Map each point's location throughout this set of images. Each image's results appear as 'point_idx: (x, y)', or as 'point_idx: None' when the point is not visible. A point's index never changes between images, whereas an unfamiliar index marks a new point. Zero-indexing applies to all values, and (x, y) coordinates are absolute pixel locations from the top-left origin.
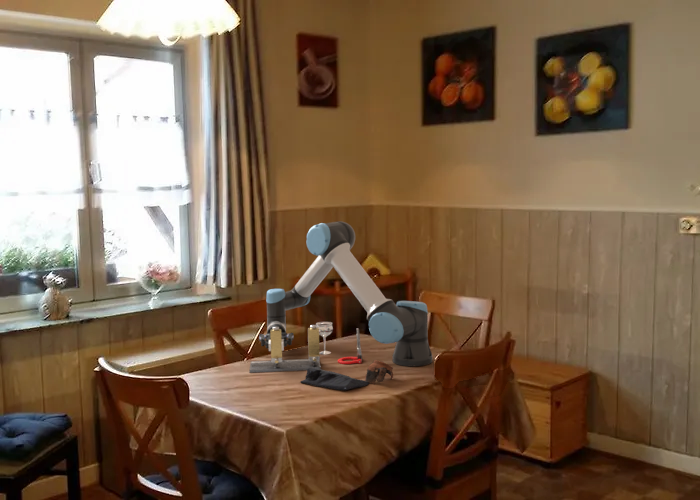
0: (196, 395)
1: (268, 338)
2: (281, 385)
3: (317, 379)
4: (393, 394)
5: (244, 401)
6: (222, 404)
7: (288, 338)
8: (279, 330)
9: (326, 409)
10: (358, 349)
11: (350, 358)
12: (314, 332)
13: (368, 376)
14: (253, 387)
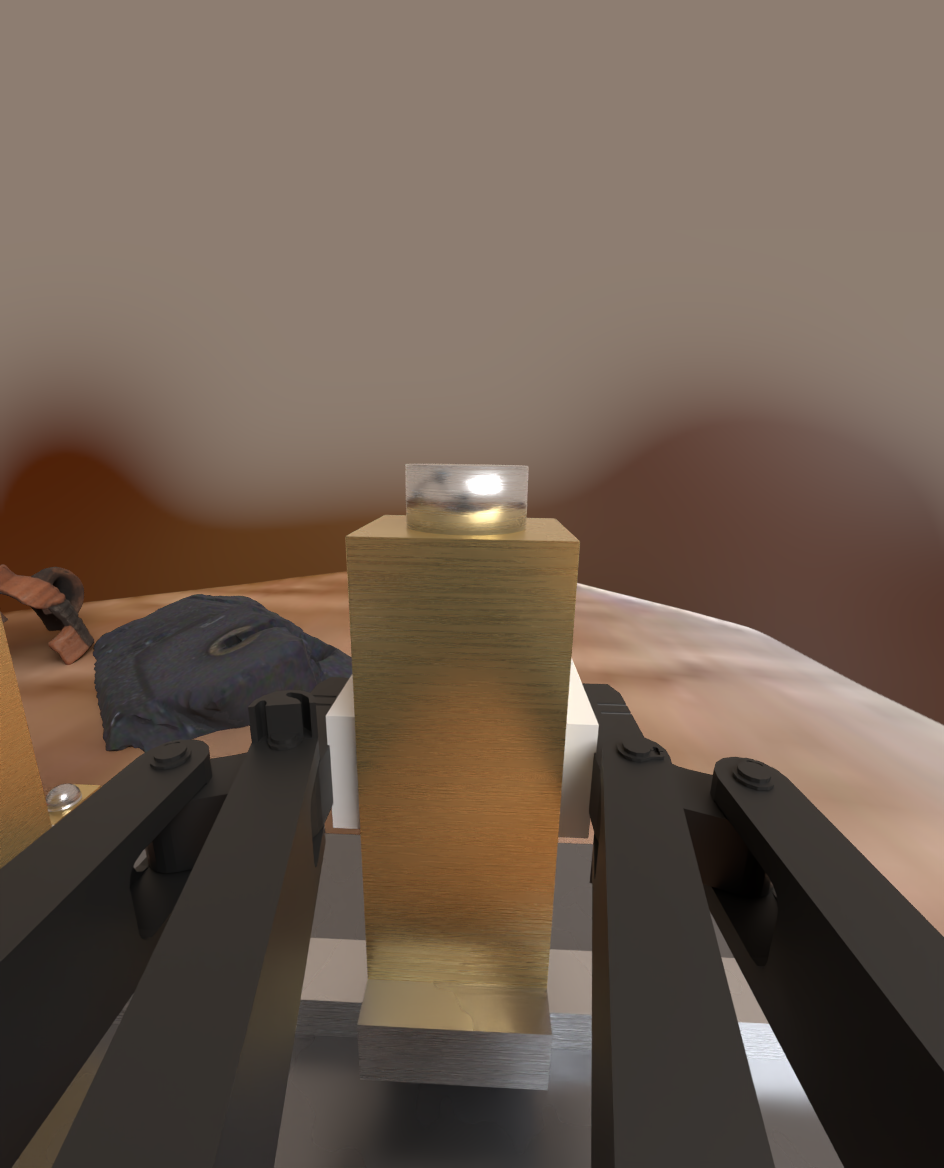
0: (785, 647)
1: (646, 825)
2: None
3: (300, 632)
4: (131, 598)
5: (579, 611)
6: (639, 607)
7: (195, 761)
8: (405, 520)
9: None
10: None
11: None
12: None
13: (79, 623)
14: (582, 670)
